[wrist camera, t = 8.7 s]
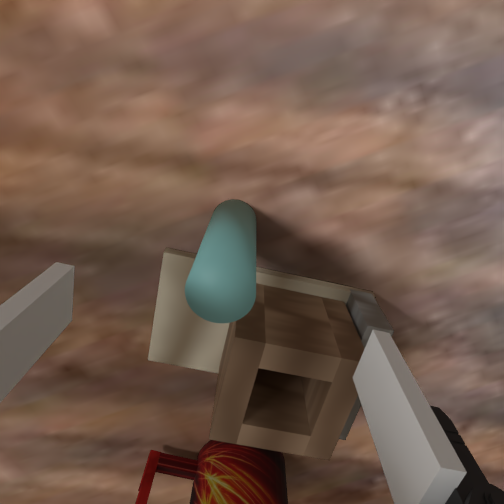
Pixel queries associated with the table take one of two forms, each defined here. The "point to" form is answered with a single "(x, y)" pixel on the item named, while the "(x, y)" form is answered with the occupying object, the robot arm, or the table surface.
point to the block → (287, 374)
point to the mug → (223, 474)
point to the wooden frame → (214, 334)
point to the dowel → (225, 265)
